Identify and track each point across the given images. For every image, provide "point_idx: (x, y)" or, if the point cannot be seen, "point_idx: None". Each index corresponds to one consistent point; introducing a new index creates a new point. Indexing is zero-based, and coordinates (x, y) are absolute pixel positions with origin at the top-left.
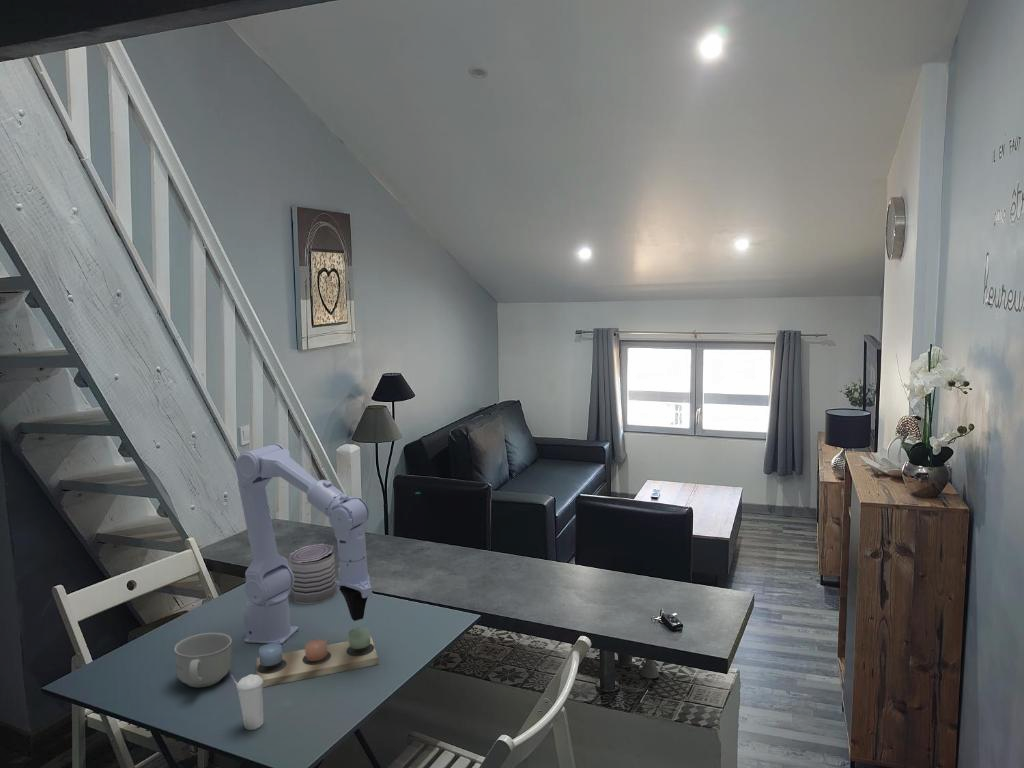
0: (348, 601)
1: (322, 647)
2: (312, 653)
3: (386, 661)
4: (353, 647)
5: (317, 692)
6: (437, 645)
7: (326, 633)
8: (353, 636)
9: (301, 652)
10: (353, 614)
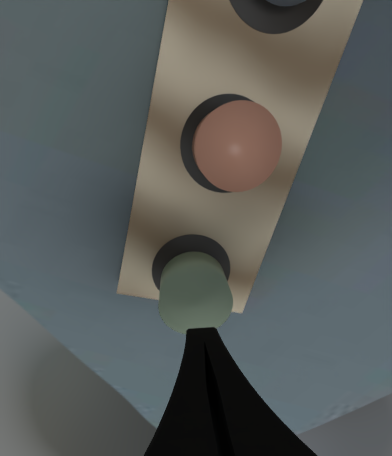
0: (190, 429)
1: (198, 164)
2: (202, 121)
3: (125, 301)
4: (174, 258)
5: (47, 84)
6: (133, 399)
7: (375, 226)
8: (171, 281)
9: (298, 112)
10: (184, 356)
